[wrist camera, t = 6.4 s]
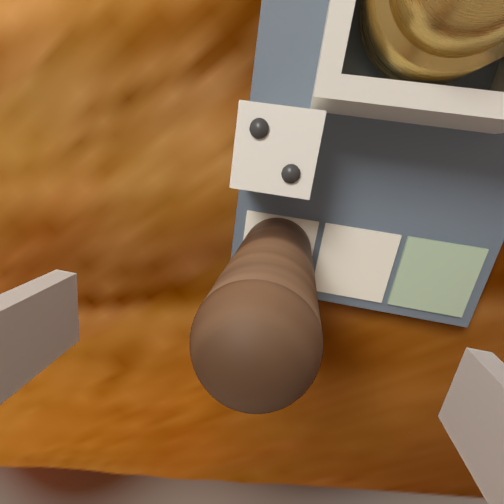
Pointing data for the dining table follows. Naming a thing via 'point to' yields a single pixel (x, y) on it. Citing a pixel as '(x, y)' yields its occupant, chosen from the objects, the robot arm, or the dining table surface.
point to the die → (276, 148)
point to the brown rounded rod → (261, 323)
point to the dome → (431, 37)
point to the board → (381, 185)
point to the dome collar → (398, 89)
